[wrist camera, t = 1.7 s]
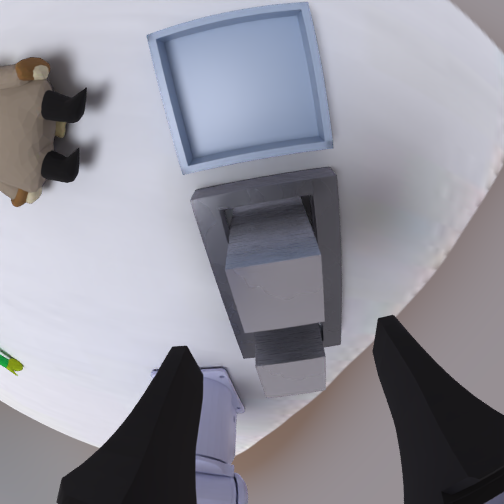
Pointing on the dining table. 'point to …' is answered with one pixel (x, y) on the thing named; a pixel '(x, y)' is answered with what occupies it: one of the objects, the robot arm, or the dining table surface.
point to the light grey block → (274, 266)
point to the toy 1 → (11, 364)
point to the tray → (242, 86)
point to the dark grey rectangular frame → (263, 190)
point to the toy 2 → (34, 130)
